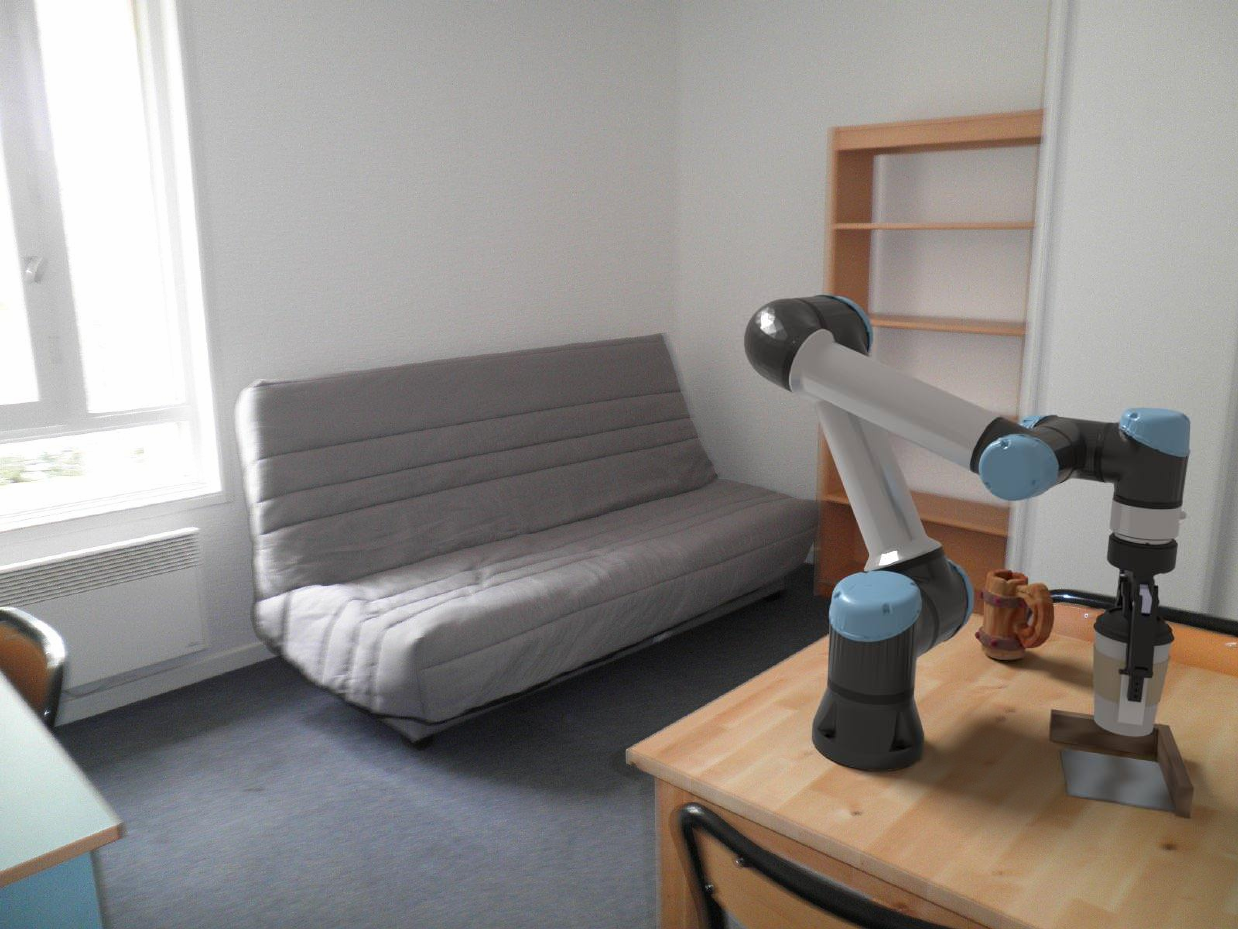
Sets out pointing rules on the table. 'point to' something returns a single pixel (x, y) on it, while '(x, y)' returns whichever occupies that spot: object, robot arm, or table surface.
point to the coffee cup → (1113, 657)
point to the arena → (1123, 765)
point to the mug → (1013, 615)
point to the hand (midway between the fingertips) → (1124, 706)
